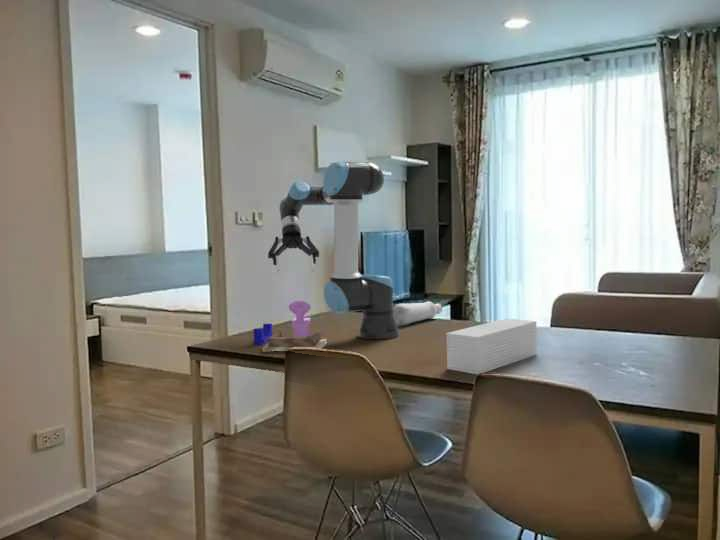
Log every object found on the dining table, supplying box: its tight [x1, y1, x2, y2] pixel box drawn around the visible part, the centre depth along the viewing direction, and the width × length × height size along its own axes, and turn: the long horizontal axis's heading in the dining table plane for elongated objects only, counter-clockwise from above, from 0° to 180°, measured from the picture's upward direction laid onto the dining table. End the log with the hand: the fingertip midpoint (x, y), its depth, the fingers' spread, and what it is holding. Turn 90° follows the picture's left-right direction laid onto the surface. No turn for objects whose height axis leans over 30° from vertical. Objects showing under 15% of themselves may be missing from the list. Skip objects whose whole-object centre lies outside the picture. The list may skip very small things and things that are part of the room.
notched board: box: [262, 330, 328, 353], centre depth 219 cm, size 20×14×4 cm
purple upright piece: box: [288, 299, 312, 337], centre depth 236 cm, size 8×9×15 cm
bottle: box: [393, 300, 443, 327], centre depth 266 cm, size 9×9×30 cm
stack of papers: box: [446, 317, 538, 375], centre depth 188 cm, size 32×11×11 cm, turn 135°
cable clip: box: [253, 323, 273, 346], centre depth 232 cm, size 12×4×6 cm, turn 169°
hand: (295, 270), depth 243 cm, fingers open, 13 cm apart
